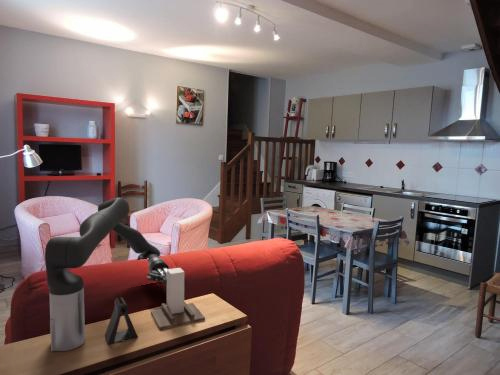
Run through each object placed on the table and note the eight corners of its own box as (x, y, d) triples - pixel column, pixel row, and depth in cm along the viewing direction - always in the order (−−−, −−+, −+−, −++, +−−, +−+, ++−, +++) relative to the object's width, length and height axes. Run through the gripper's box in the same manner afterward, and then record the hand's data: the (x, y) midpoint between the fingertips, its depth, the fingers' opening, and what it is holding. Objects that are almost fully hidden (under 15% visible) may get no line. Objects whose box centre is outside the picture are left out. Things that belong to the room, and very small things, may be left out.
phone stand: (133, 329, 118) (133, 294, 117) (137, 337, 113) (137, 301, 112) (104, 335, 114) (104, 299, 112) (107, 345, 108) (107, 307, 107)
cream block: (170, 314, 126) (170, 273, 125) (166, 308, 131) (166, 269, 129) (184, 311, 129) (184, 271, 127) (179, 306, 133) (180, 267, 131)
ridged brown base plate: (159, 330, 118) (159, 321, 118) (150, 313, 129) (150, 305, 129) (204, 320, 126) (205, 312, 125) (192, 305, 137) (192, 297, 137)
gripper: (141, 261, 148) (151, 274, 133) (172, 257, 154) (185, 269, 139) (141, 278, 149) (151, 294, 134) (172, 274, 155) (185, 288, 140)
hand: (168, 281), depth 136 cm, fingers closed
